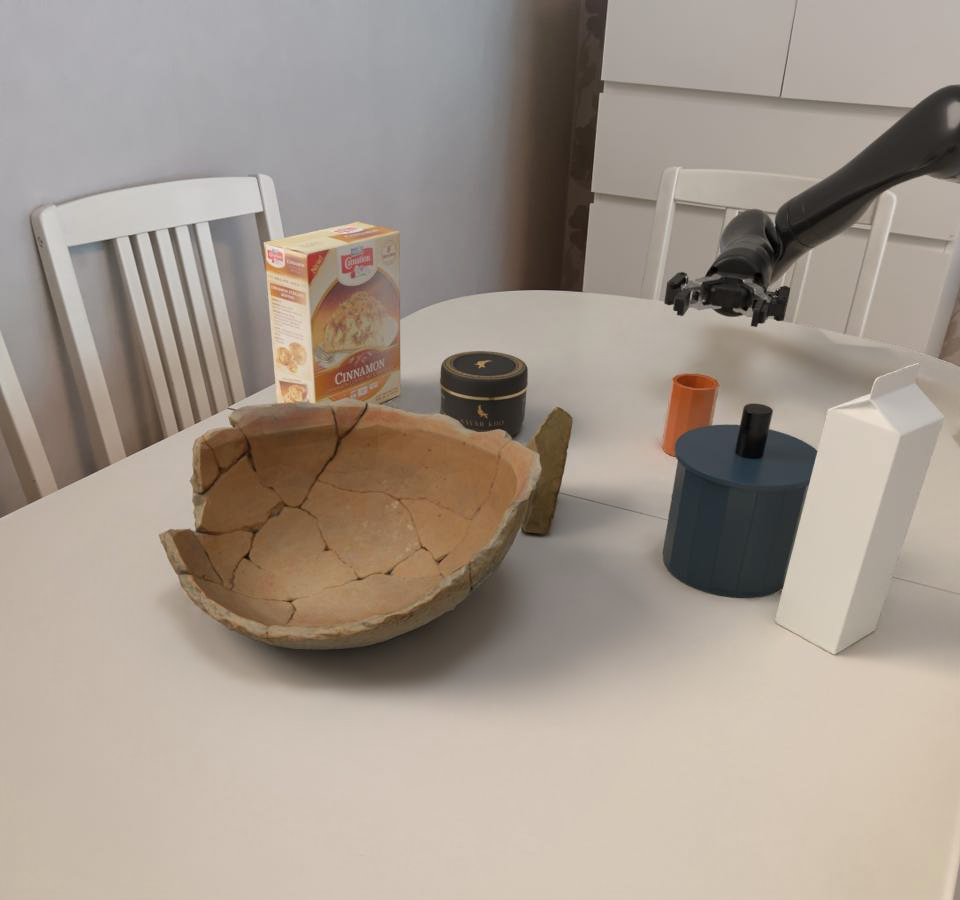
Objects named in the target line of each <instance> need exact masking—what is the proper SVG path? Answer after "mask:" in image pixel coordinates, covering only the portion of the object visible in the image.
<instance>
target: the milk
mask: <svg viewBox="0 0 960 900" xmlns="http://www.w3.org/2000/svg"><path fill="white" fill-rule="evenodd" d="M920 367H921V363H919V362H916V363H914V364H911V365H908V366H905V367H901V368H899V369H897V370H894V371H891V372H888V373H885V374H883V375H880V376H877V377H876V378H875V380H874V381H873V384H872V387H871V391H870V393H868V394H865V395H862V396H859V397H857V398H855V399H852V400H849V401H846V402H843V403H840V404H838V405H836V406H833V407H830V408H828V409H827V412H826V416H825V419H824V424H823V428H822V432H821V435H820V440H819V442H818V443H819V444H818V447H817V455H816V459H815V463H814V467H813V471H812V475H811V479H810V483H809V487H808V491H807V495H806V499H805V503H804V507H803V511H802V515H801V519H800V523H799V527H798V531H797V534H796V538H795V542H794V546H793V550H792V554H791V558H790V562H789V566H788V570H787V574H786V578H785V582H784V586H783V588H782V591H781V595H780V599H779V603H778V607H777V609H776V615H775V619H774V623H775V624H777V625H779V626H781V627H782V628H785V629H786V630H788V631H790V632H792V633H794V634H795V635H797V636H799V637H801V638H803V639H805V640H806V641H808V642H810V643H812V644H814V645H816V646H817V647H819V648H820V649H823V650H825V651H826V652H828V653H830V654H832V655H835V656H836V655H837V654H838V653H840V652H841V651H844V650H845V649H847V648H848V647H850V646H851V645H853V644H855V643H857V642H858V641H859V640H862V639H863V638H864V637H866V636H868V635H870V634H871V633H873V632H874V631H876V629H877V626H878V622H879V620H880V616H881V613H882V611H883V607H884V604H885V602H886V598H887V596H888V592H889V589H890V586H891V583H892V580H893V576H894V573H895V571H896V568H897V565H898V561H899V559H900V555H901V552H902V549H903V546H904V543H905V541H906V536H907V534H908V530H909V528H910V525H911V521H912V518H913V516H914V512H915V509H916V506H917V503H918V500H919V498H920V495H921V491H922V488H923V485H924V482H925V478H926V475H927V472H928V470H929V467H930V464H931V461H932V457H933V455H934V451H935V448H936V446H937V442H938V439H939V436H940V432H941V429H942V428H943V427H942V426H943V423H944V420H945V416H944V414H943V413H942V412H941V411H940V410H939V408H938V407H937V406H936V405H935V404H934V403H933V401H931V400H930V398H929V397H928V396H927V395H926V394H925V392H924V391H923V390H922V389H921V388H920V386H919V385H918V384H917V377H918V375H919V372H920Z"/></svg>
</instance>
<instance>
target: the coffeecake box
mask: <svg viewBox="0 0 960 900" xmlns="http://www.w3.org/2000/svg"><path fill="white" fill-rule="evenodd" d="M400 236H401V231H398V230H395V229H393V228H388V227H383V226H379V225H375V224H370V223H365V222H361V221H355V222H352V223H347V224H341V225H338V226H333V227H328V228H324V229H319V230H314V231H310V232H305V233H301V234H296V235H292V236H286V237H282V238H277V239H274V240H273V239H272V240H268V241H264V242H263V247H264V248H263V249H264V250H263V251H264V259H265V261H264V262H265V273H266V285H267V297H268V308H269V309H268V311H269V321H270V322H269V323H270V335H271V346H272V358H273V369H274V383H275V395H276V403H292V402H310V403H314V404H319V405H328V404H330V403H332V402H335V401H338V400H340V399H343V398H353V399H357V400H360V401H363V402H366V403H372V404H382V403H384V402H387V401H389V400H391V399H394V398H397V397H399V396H401V395H402V390H401V386H402V384H401V379H402V378H401V373H402V372H401V270H400V269H401V260H400V259H401V254H400V249H401V248H400V247H401V246H400V242H401V239H400Z"/></svg>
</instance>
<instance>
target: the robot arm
mask: <svg viewBox="0 0 960 900" xmlns="http://www.w3.org/2000/svg"><path fill="white" fill-rule="evenodd" d="M924 176H928V177H930V178H933V179H937V180H941V181H946V182H950V183H953V184H958V185H960V84H949V85H946V86H943V87H941V88H939V89H937V90H935V91H934V92H932V93H931V94H929V95H927V96H926V97H925V98H923V99H922V100H920V102H918V103H917V104H916V105H915V106H913V107H912V108H911V109H910V110H908V112H906V113H904V115H903V116H901V117H900V118H899V119H898V120H897V121H896V122H895V123H893V124H892V125H891V126H890V127H889V128H888V129H887V130H885V131H884V132H883V133H882V134H881V135H879V136H878V137H877V138H876V139H874V140H873V141H872V142H871V143H870V144H868V145H867V146H866V147H865V148H864V149H863V150H862V151H860V152H859V153H858V154H856V155H855V156H854V157H853V158H852V159H851V160H849V161H848V162H846V163H845V164H844V165H842V166H841V167H840V168H839V169H837V170H836V171H834V172H833V173H832V174H830V175H829V176H827V177H825V178H823V179H822V180H820V181H818V182H817V183H815V184H814V185H812V186H810V187H808V188H807V189H805V190H804V191H802V192H800V193H798V194H797V195H795V196H794V197H791V198H790V199H788V200H787V201H786V202H784V203H783V204H782V205H781V206H780V207H779V208H778V210H777V211H776V214H775V217H774V222H773V220H772V219H771V217H770V215H769V214H768V213H767V212H765V211H764V210H762V209H759V208H751V209H746V210H743V211H742V212H739V213H738V214H737V215H735V216H734V217H733V218H732V219H731V220H730V221H729V222H728V223H727V225H726V226H725V227H724V229H723V230H722V232H721V233H722V234H721V236H720V239H719V251H720V254H719V255H718V256H717V257H716V259H715V260H714V261H713V263H712V264H711V266H710V267H709V268H708V270H707V271H706V272H705V273H706V274H705V275H704V276H703V277H699V278H698V277H697V278H696V279H694V280H689V276H688V273H687V272H685V271H679V272H677V273H676V274H675V275H673V276H672V277H671V278H670V279H669V280H668V281H667V282H666V287H665V295H664V302H663V303H664V305H667V306H672V305H673V307H672V310H673V312H676V316H679V317H684V315H685V314H686V313H687V311H688V310H689V309H691V308H692V309H694V310H696V311H697V310H698V311H702V310H709V309H711V310H713V311H714V312H715V313H717V314H719V315H720V316H724V317H728V318H735V317H736V318H737V317H741V316H745V317H746V318H751V322H750V327H755V328H758V326H759V324H760V325H763V324H765V323H766V321H767V320H768V319H769V317H773V320H774V321H777V322H783V321H785V316H786V311H787V307H788V303H789V298H790V292H791V287H789V286H788V285H782V286H779V288H775V290H774V291H772V290H771V291H770V290H768V289H769V287H770V286H772V285H774V284H775V283H776V282H778V280H780V279H781V278H782V277H783V276H784V275H785V274H786V273H787V272H788V270H789V269H790V268H791V267H793V265H794V264H795V263H796V262H797V261H798V260H799V259H800V258H802V257H803V256H804V255H805V254H807V253H808V252H809V251H811V250H813V249H815V248H817V247H818V246H820V245H822V244H825V243H826V242H828V241H830V240H831V239H834V238H836V237H837V236H839V235H840V234H842V233H844V232H846V231H848V230H849V229H850V228H852V227H853V226H854V225H855V224H857V223H858V221H860V220H861V218H862V217H863V216H864V215H865V213H866V212H867V211H868V209H869V208H870V207H871V206H872V204H873V203H874V201H875V200H876V199H877V198H879V197H880V196H881V195H882V194H883V193H885V192H887V191H888V190H890V189H892V188H893V187H896V186H899V185H900V184H904V183H906V182H909V181H912V180H914V179H918V178H921V177H924Z"/></svg>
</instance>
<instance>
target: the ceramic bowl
mask: <svg viewBox="0 0 960 900" xmlns="http://www.w3.org/2000/svg"><path fill="white" fill-rule="evenodd" d="M227 417H228V421H229V424H230V426H226V427H225V426H221V427H216V428H212V429H209V430H207V431H206V432H204V433H203V434H202V435H201V436H199V437H198V438H196V439H195V440H194V443H193V445H192V472H193V473H192V475H191V477H190V480H189V482H190V484H191V487H192V500H191V502H192V505H193V506H194V508H193V511H192V514H193V517H194V527H195V528H194V529H195V530H192V528H178V529H177V528H176V529H175V528H170V529H168V530H165V531H163V532H161V533H158V537H159V541H160V544H161V545H162V547H163V549H164V551H165V553H166V558H167V559H168V562H169V564H170V565H171V567H172V569H173V571H174V572H175V573H176V575H177V578H178V580H179V584H180V586H181V587H182V589H183V590H184V592H185V593H186V595H187V597H188V598H189V599H190V600H191V601H192V602H193V604H195V605H196V607H198V608H199V609H200V610H201V611H202V612H204V613H206V614H207V615H208V616H210V617H211V618H212V619H213V620H215V621H216V622H218V623H220V624H221V625H222V626H224V627H226V628H227V629H229V630H231V631H233V632H236V633H238V634H240V635H243V636H244V637H247V638H249V639H252V640H256V641H258V642H261V643H264V644H267V645H271V646H273V647H280V648H287V649H291V650H292V649H293V650H309V651H310V650H314V651H315V650H317V651H318V650H321V651H322V650H325V651H326V650H339V649H354V648H361V647H366V646H371V645H375V644H380V643H384V642H387V641H389V640H391V639H395V638H397V637H399V636H401V635H403V634H406V633H409V632H411V631H414V630H416V629H418V628H420V627H422V626H424V625H427V624H428V623H430V622H432V621H433V620H435V619H437V618H439V617H441V616H442V615H444V614H446V613H448V612H451V611H453V610H455V609H456V607H457V605H458V604H460V603H461V602H462V601H464V600H465V599H466V598H467V597H468V596H470V595H471V594H472V593H473V592H474V591H475V590H477V589H478V588H479V587H480V586H481V585H482V584H483V583H484V582H485V581H486V580H487V579H488V578H489V577H490V576H491V575H492V574H493V572H495V571H496V570H497V569H498V568H499V567H500V566H501V564H502V562H503V560H504V559H505V557H506V555H507V554H508V552H509V551H510V549H511V548H512V546H513V544H514V543H515V540H516V538H517V535H518V533H519V531H520V529H521V527H522V521H523V517H524V512H525V506H526V503H527V501H528V499H529V497H530V495H531V494H532V493H533V491H534V490H535V487H536V485H537V483H538V482H539V480H540V477H541V465H540V457H541V456H540V454H538V453H537V452H534V451H532V450H531V449H529V448H527V447H524V446H525V445H523V444H522V443H521V442H519V441H517V440H515V439H513V437H511V436H510V435H509V434H508V433H507V432H506V431H504V430H500V429H497V430H492V431H487V432H476V431H473V430H469V429H466V428H465V427H464V426H463V425H462V424H461V423H460V422H459V421H458V420H456V419H454V418H452V417H450V416H447V415H443V414H441V413H432V414H425V413H418V412H411V411H407V410H404V409H400V408H397V407H392V406H388V405H384V404H382V403H380V404H372V403H366V402H363V401H360V400H357V399H353V398H343V399H340V400H338V401H335V402H332V403H330V404H328V405H319V404H314V403H310V402H292V403H277V402H275V403H274V402H273V403H264V404H253V405H245V406H241V407H238V408H237V409H235V410H232V412H231V413H230V414H229V415H228V416H227Z"/></svg>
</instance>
